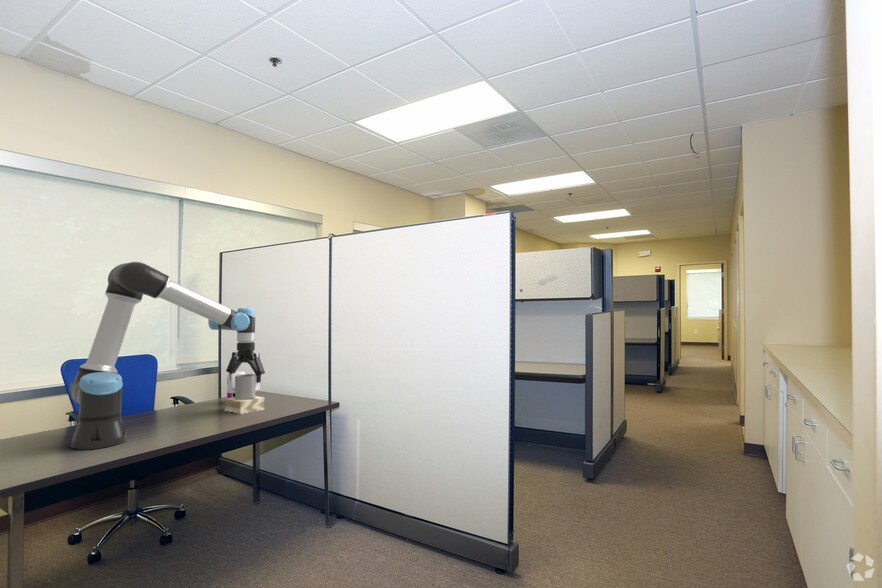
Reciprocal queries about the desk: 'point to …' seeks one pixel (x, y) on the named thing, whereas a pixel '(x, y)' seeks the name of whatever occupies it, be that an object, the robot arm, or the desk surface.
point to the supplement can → (230, 390)
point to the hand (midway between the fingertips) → (245, 388)
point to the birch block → (244, 404)
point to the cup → (244, 386)
